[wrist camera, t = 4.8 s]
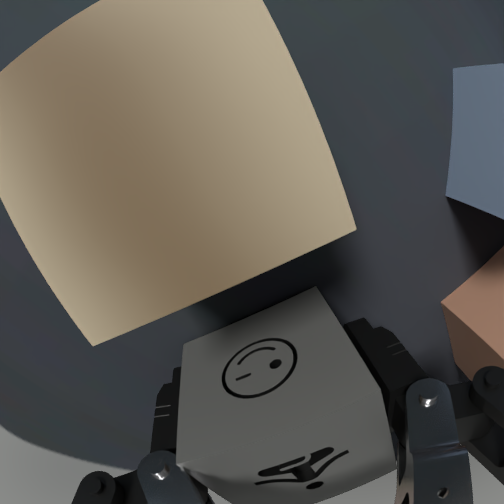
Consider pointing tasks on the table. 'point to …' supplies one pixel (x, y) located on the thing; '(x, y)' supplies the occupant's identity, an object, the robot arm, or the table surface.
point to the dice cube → (281, 408)
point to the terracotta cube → (478, 318)
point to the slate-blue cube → (478, 138)
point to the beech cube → (162, 158)
